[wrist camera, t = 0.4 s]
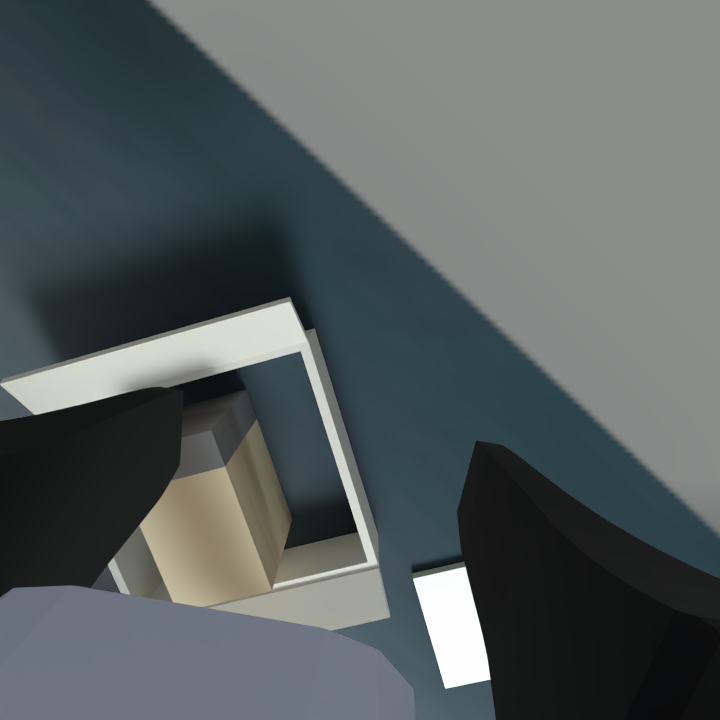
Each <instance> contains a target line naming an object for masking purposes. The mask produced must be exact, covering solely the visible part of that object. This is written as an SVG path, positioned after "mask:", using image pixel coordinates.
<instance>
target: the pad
mask: <svg viewBox="0 0 720 720" xmlns="http://www.w3.org/2000/svg"><path fill="white" fill-rule="evenodd" d="M412 574H413V580H414V583H415V587H416V590H417V594H418V597H419V600H420V604H421V607H422V611H423V614H424V617H425V621H426V624H427V627H428V631H429V634H430V638H431V641H432V644H433V648H434V651H435V655H436V658H437V661H438V665H439V668H440V671H441V675H442V678H443V682H444V685H445V688H451V687H455V686H460V685H465V684H470V683H475V682H479V681H484V680H489V679H490V673H489V666H488V659H487V654H486V649H485V644H484V639H483V635H482V631H481V627H480V623H479V619H478V615H477V611H476V607H475V603H474V599H473V595H472V591H471V588H470V584H469V580H468V576H467V572H466V567H465V563H464V562H460V563H455V564H451V565H447V566H442V567H438V568H434V569H429V570H425V571H420V572H416V573H412Z"/></svg>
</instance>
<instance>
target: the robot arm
mask: <svg viewBox="0 0 720 720" xmlns="http://www.w3.org/2000/svg"><path fill="white" fill-rule="evenodd" d="M183 396H184V391H183V390H177V389H171V388H165V387H150V388H144V389H140V390H135V391H131V392H127V393H123V394H119V395H115V396H112V397H108V398H104V399H100V400H96V401H93V402H89V403H85V404H81V405H76V406H72V407H68V408H64V409H59V410H55V411H51V412H46V413H42V414H38V415H33V416H28V417H22V418H17V419H11V420H5V421H0V720H416V713H415V702H414V691H413V688H412V687H411V686H410V685H409V684H408V683H407V682H406V680H405V679H404V678H403V677H402V676H401V675H400V674H399V672H398V671H397V670H396V669H395V668H394V667H393V666H392V665H391V663H390V662H389V661H388V660H387V659H386V658H385V657H384V655H383V654H382V653H381V652H380V651H379V650H377V649H375V648H373V647H370V646H368V645H365V644H363V643H360V642H358V641H355V640H353V639H350V638H348V637H345V636H342V635H340V634H337V633H335V632H332V631H330V630H327V629H325V628H320V627H314V626H308V625H302V624H297V623H291V622H285V621H279V620H273V619H268V618H262V617H256V616H250V615H244V614H239V613H233V612H227V611H221V610H215V609H209V608H204V607H198V606H192V605H186V604H180V603H175V602H169V601H163V600H157V599H151V598H146V597H140V596H134V595H128V594H122V593H117V592H111V591H105V590H99V589H93V588H91V586H92V585H93V583H94V582H95V581H96V579H97V578H98V577H99V575H100V574H101V573H102V571H103V570H104V569H105V567H106V566H107V565H108V564H109V562H110V561H111V560H112V559H113V557H114V556H115V555H116V554H117V552H118V551H119V550H120V549H121V547H122V546H123V545H124V544H125V542H126V541H127V540H128V539H129V537H130V536H131V535H132V534H133V532H134V531H135V530H136V529H137V527H138V526H139V525H140V524H141V522H142V521H143V520H144V519H145V517H146V516H147V515H148V514H149V512H150V511H151V510H152V508H153V507H154V506H155V505H156V503H157V502H158V501H159V499H160V498H161V497H162V495H163V493H164V492H165V490H166V488H167V487H168V485H169V483H170V482H171V480H172V478H173V476H174V475H175V473H176V471H177V469H178V467H179V466H180V456H181V436H182V416H183ZM457 514H458V526H459V536H460V544H461V551H462V555H463V559H464V563H465V567H466V572H467V576H468V580H469V584H470V588H471V591H472V595H473V599H474V603H475V607H476V611H477V615H478V619H479V623H480V627H481V631H482V635H483V639H484V644H485V649H486V654H487V659H488V666H489V673H490V680H491V687H492V694H493V700H494V708H495V716H496V720H720V579H719V578H716V577H714V576H712V575H710V574H708V573H705V572H703V571H701V570H699V569H696V568H694V567H692V566H690V565H688V564H686V563H684V562H682V561H680V560H678V559H676V558H674V557H672V556H670V555H668V554H666V553H664V552H662V551H660V550H658V549H656V548H654V547H652V546H650V545H649V544H647V543H645V542H643V541H641V540H639V539H638V538H636V537H634V536H633V535H631V534H629V533H627V532H626V531H624V530H622V529H621V528H619V527H617V526H616V525H614V524H612V523H610V522H609V521H607V520H606V519H604V518H602V517H601V516H599V515H598V514H596V513H595V512H593V511H592V510H590V509H589V508H587V507H586V506H585V505H583V504H582V503H580V502H579V501H577V500H576V499H574V498H573V497H572V496H570V495H569V494H567V493H566V492H565V491H563V490H562V489H561V488H559V487H558V486H557V485H555V484H554V483H553V482H551V481H550V480H549V479H547V478H546V477H545V476H543V475H542V474H541V473H540V472H538V471H537V470H536V469H534V468H533V467H532V466H531V465H529V464H528V463H527V462H525V461H524V460H523V459H522V458H520V457H519V456H518V455H516V454H515V453H513V452H512V451H511V450H509V449H507V448H506V447H504V446H502V445H499V444H493V443H487V442H481V441H476V443H475V447H474V451H473V454H472V458H471V462H470V466H469V470H468V473H467V477H466V481H465V485H464V488H463V492H462V496H461V500H460V504H459V507H458V511H457Z"/></svg>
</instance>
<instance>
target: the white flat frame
mask: <svg viewBox="0 0 720 720" xmlns="http://www.w3.org/2000/svg"><path fill="white" fill-rule="evenodd" d="M299 351H301V353H302V356H303V359H304V362H305V366H306V369H307V372H308V375H309V378H310V381H311V384H312V388H313V391H314V394H315V397H316V400H317V403H318V407H319V410H320V413H321V416H322V419H323V422H324V425H325V429H326V432H327V435H328V438H329V441H330V444H331V447H332V451H333V454H334V457H335V460H336V463H337V466H338V469H339V473H340V476H341V479H342V482H343V485H344V488H345V491H346V495H347V498H348V501H349V504H350V507H351V510H352V513H353V517H354V520H355V523H356V526H357V529H358V532H356V533H351V534H347V535H343V536H339V537H335V538H331V539H326V540H322V541H318V542H314V543H310V544H306V545H301V546H297V547H293V548H289V549H285V550H283V554H282V557H281V561H280V564H279V568H278V571H277V575H276V578H275V582H274V585H273V589H272V591H268V592H264V593H260V594H255V595H251V596H247V597H242V598H238V599H234V600H230V601H225V602H221V603H217V604H212V605H208V606H204V608H209V609H215V610H221V611H227V612H233V613H239V614H244V615H250V616H256V617H262V618H268V619H273V620H279V621H285V622H291V623H297V624H302V625H308V626H314V627H320V628H325V629H327V630H330V631H332V630H336V629H341V628H345V627H349V626H354V625H358V624H363V623H367V622H372V621H376V620H381V619H385V618H390V612H389V608H388V603H387V599H386V594H385V590H384V585H383V581H382V577H381V572H380V568H379V550H378V533H377V530H376V526H375V523H374V520H373V517H372V513H371V510H370V507H369V504H368V500H367V497H366V494H365V491H364V487H363V484H362V481H361V478H360V474H359V471H358V468H357V465H356V461H355V458H354V455H353V452H352V448H351V445H350V442H349V439H348V435H347V432H346V429H345V425H344V422H343V419H342V416H341V412H340V409H339V406H338V403H337V399H336V396H335V393H334V390H333V386H332V383H331V380H330V377H329V373H328V370H327V367H326V364H325V360H324V357H323V354H322V351H321V347H320V344H319V341H318V338H317V334H316V331H315V328H314V329H310V330H307V331H305V330H304V328H303V325H302V323H301V321H300V319H299V316H298V314H297V312H296V310H295V307H294V305H293V303H292V300H291V298H290V297H287V298H284V299H280V300H277V301H273V302H270V303H266V304H263V305H259V306H256V307H252V308H249V309H245V310H242V311H238V312H235V313H231V314H228V315H224V316H221V317H217V318H214V319H210V320H207V321H203V322H200V323H196V324H193V325H189V326H186V327H182V328H179V329H175V330H172V331H168V332H165V333H161V334H158V335H154V336H151V337H147V338H144V339H140V340H137V341H133V342H130V343H126V344H123V345H119V346H116V347H112V348H109V349H105V350H102V351H98V352H95V353H91V354H88V355H84V356H81V357H77V358H74V359H70V360H67V361H63V362H60V363H56V364H53V365H49V366H45V367H42V368H38V369H35V370H31V371H28V372H24V373H21V374H17V375H14V376H10V377H7V378H3V379H2V381H1V382H0V385H1V386H2V387H3V388H5V389H6V390H7V391H8V392H9V393H10V394H11V395H13V396H14V397H15V398H16V399H17V400H18V401H20V402H21V403H22V404H23V405H24V406H25V407H26V408H28V409H29V410H30V411H31V412H32V413H33V414H35V415H38V414H42V413H46V412H51V411H55V410H59V409H64V408H68V407H72V406H76V405H81V404H85V403H89V402H93V401H96V400H100V399H104V398H108V397H112V396H115V395H119V394H123V393H127V392H131V391H135V390H140V389H144V388H150V387H165V388H168V387H171V386H175V385H178V384H182V383H186V382H189V381H193V380H197V379H200V378H204V377H208V376H211V375H215V374H218V373H222V372H226V371H229V370H233V369H237V368H240V367H244V366H248V365H251V364H255V363H259V362H262V361H266V360H269V359H273V358H277V357H280V356H284V355H288V354H291V353H295V352H299ZM108 567H109V569H110V571H111V573H112V575H113V577H114V580H115V582H116V584H117V586H118V588H119V590H120V593H122V594H128V595H134V596H140V597H146V598H151V599H157V600H163V601H169V602H173V601H172V599H171V597H170V594H169V592H168V590H167V587H166V585H165V583H164V580H163V578H162V576H161V574H160V571H159V569H158V567H157V564H156V562H155V560H154V558H153V555H152V553H151V551H150V548H149V546H148V544H147V541H146V539H145V537H144V535H143V532H142V530H141V528H140V525H139V526H138V527H137V529H136V530H135V531H134V532H133V534H132V535H131V536H130V537H129V539H128V540H127V541H126V542H125V544H124V545H123V546H122V547H121V549H120V550H119V551H118V552H117V554H116V555H115V556H114V557H113V559H112V560H111V561H110V562H109V564H108Z"/></svg>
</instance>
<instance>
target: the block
mask: <svg viewBox="0 0 720 720" xmlns="http://www.w3.org/2000/svg"><path fill="white" fill-rule="evenodd" d="M291 522H292V517H291V514H290V511H289V508H288V506H287V503H286V500H285V497H284V494H283V491H282V489H281V486H280V483H279V480H278V477H277V474H276V471H275V469H274V466H273V463H272V460H271V457H270V454H269V452H268V449H267V446H266V443H265V440H264V437H263V434H262V432H261V429H260V426H259V423H258V420H257V417H256V415H255V412H254V409H253V406H252V403H251V400H250V398H249V395H248V392H247V389H246V390H242V391H238V392H235V393H231V394H227V395H224V396H220V397H216V398H213V399H209V400H205V401H201V402H198V403H194V404H190V405H187V406H183V416H182V436H181V456H180V466H179V467H178V469H177V471H176V473H175V475H174V476H173V478H172V480H171V482H170V483H169V485H168V487H167V488H166V490H165V492H164V493H163V495H162V497H161V498H160V499H159V501H158V502H157V503H156V505H155V506H154V507H153V508H152V510H151V511H150V512H149V514H148V515H147V516H146V517H145V519H144V520H143V521H142V522H141V524H140V528H141V530H142V532H143V535H144V537H145V539H146V541H147V544H148V546H149V548H150V551H151V553H152V555H153V558H154V560H155V562H156V564H157V567H158V569H159V571H160V574H161V576H162V578H163V580H164V583H165V585H166V587H167V590H168V592H169V594H170V597H171V599H172V601H173V602H175V603H180V604H186V605H192V606H198V607H204V606H208V605H212V604H217V603H221V602H225V601H230V600H234V599H238V598H242V597H247V596H251V595H255V594H260V593H264V592H268V591H272V589H273V585H274V582H275V578H276V575H277V571H278V568H279V564H280V561H281V557H282V554H283V550H284V547H285V543H286V540H287V536H288V533H289V529H290V526H291Z"/></svg>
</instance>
